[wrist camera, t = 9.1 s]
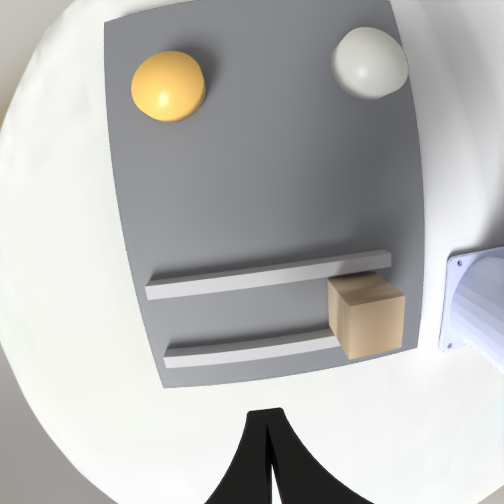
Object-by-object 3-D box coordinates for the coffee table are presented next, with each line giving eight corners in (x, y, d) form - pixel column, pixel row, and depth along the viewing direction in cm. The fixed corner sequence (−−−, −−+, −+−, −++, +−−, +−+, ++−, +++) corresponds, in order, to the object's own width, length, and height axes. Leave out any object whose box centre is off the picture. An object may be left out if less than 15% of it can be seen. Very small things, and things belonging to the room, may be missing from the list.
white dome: (385, 41, 14) (400, 30, 12) (397, 101, 14) (414, 95, 13) (324, 38, 14) (334, 24, 12) (336, 100, 14) (347, 92, 13)
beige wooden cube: (374, 271, 18) (405, 295, 14) (373, 316, 19) (401, 347, 15) (327, 279, 18) (349, 306, 14) (328, 325, 19) (348, 359, 15)
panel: (380, 9, 16) (395, -6, 13) (408, 338, 22) (423, 354, 19) (112, 31, 16) (98, 16, 13) (167, 375, 21) (160, 396, 19)
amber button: (202, 56, 15) (199, 45, 13) (209, 116, 16) (206, 110, 14) (139, 69, 15) (129, 59, 13) (144, 128, 16) (134, 124, 14)
